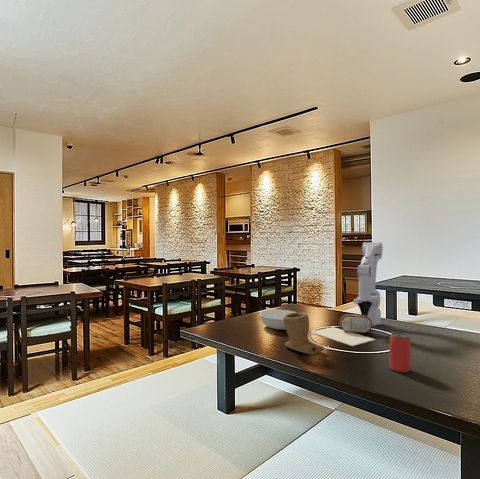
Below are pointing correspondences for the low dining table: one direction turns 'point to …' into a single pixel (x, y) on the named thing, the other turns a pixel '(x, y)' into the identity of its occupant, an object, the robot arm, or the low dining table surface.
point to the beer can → (399, 352)
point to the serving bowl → (274, 318)
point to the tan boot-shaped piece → (299, 333)
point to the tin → (355, 323)
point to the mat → (342, 336)
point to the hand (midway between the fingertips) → (364, 316)
